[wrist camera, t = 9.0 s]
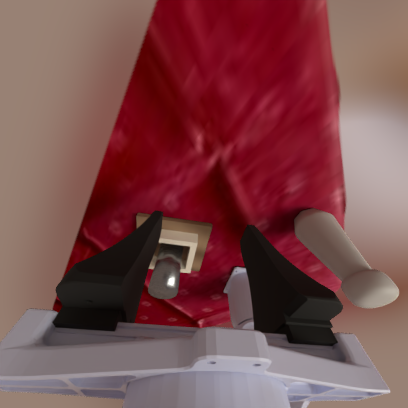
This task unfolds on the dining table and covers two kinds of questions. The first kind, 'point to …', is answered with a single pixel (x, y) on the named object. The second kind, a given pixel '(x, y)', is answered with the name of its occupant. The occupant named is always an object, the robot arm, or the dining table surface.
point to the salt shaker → (344, 259)
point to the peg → (166, 272)
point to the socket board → (182, 239)
